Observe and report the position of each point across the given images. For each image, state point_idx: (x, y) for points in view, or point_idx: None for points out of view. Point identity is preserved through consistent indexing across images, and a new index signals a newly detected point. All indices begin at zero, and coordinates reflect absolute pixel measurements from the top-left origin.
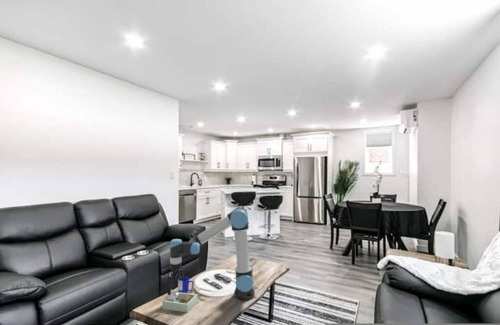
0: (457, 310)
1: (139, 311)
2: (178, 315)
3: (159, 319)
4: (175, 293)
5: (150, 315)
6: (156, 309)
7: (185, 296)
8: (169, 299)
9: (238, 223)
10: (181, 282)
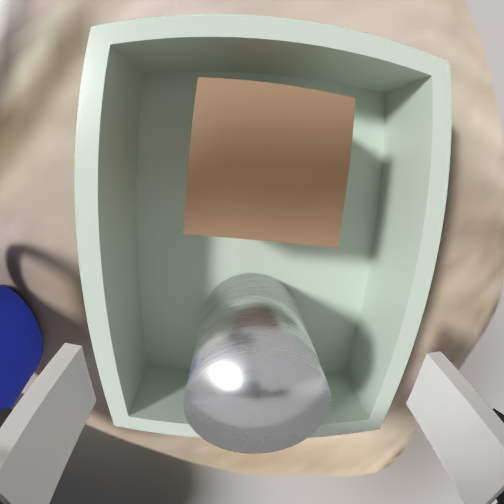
0: None
1: (382, 464)
2: (453, 165)
3: (493, 301)
4: (276, 397)
5: None
6: None
7: (229, 178)
8: None
9: None
10: (10, 460)
